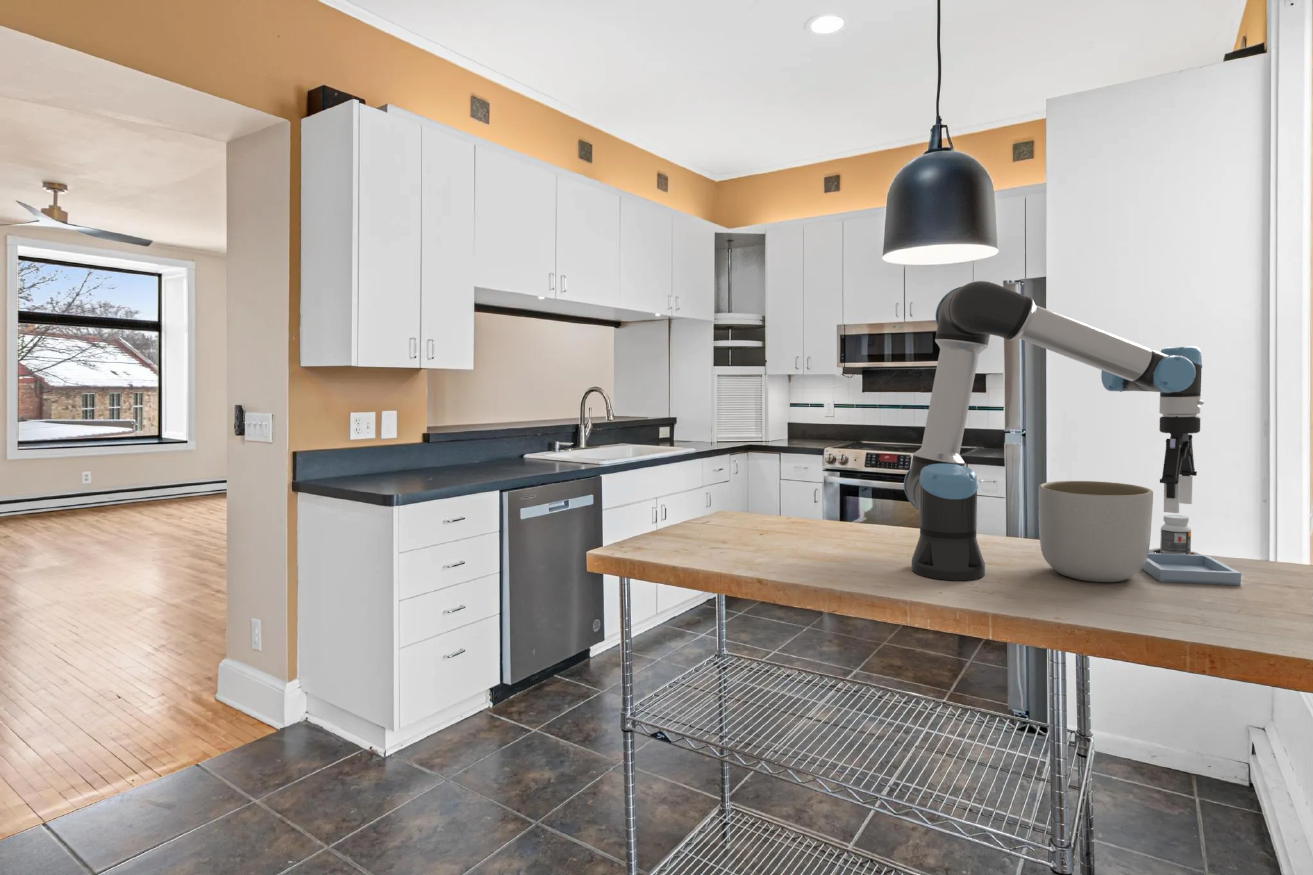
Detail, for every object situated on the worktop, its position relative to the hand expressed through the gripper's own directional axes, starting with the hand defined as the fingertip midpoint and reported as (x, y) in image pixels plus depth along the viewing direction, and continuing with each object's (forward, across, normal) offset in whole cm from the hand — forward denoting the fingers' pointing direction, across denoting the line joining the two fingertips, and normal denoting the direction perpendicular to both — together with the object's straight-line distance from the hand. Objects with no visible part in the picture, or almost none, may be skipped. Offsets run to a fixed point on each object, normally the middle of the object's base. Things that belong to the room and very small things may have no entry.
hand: (1178, 507), depth 166 cm
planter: (+12, -27, +10) cm, 31 cm away
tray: (+12, -14, -4) cm, 18 cm away
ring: (+12, 0, 0) cm, 12 cm away
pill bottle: (+12, 0, 0) cm, 12 cm away
